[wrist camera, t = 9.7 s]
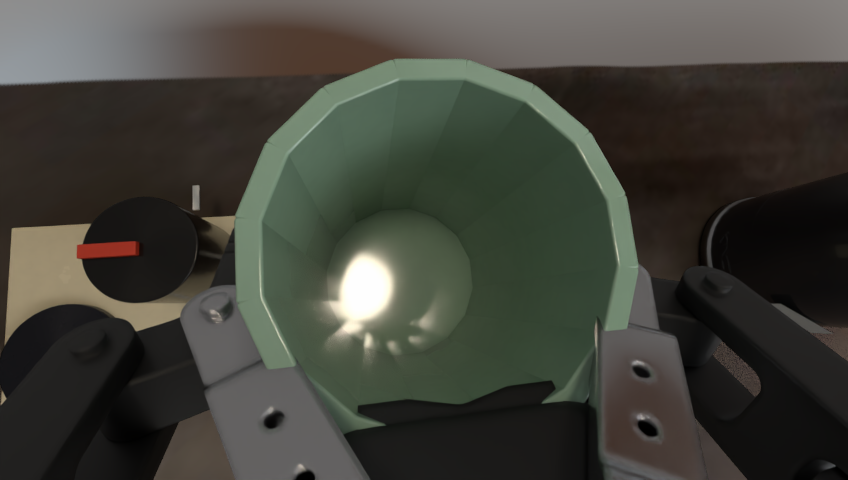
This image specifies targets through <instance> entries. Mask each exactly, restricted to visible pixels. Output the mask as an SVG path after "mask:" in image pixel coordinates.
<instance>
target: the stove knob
mask: <svg viewBox="0 0 848 480" xmlns="http://www.w3.org/2000/svg"><path fill="white" fill-rule="evenodd" d="M229 238H230V235H229V234H228V233H227V232H226V231H224V230H223V229H221V228H220V227H218V226H216V225H214V224H212V223H210V222H208V221H206V220H204V219H202V218H200V217H198V216H196V215H195V214H193V213H191V212H189V211H187V210H185V209H183V208H181V207H179V206H177V205H175V204H173V203H171V202H169V201H166V200H163V199H160V198H154V197H137V198H131V199H127V200H124V201H121V202H119V203H117V204H114V205H112V206H111V207H109V208H108V209H106V210H105V211H104V212H102V213H101V214H100V215H99V216H98V217H97V218H96V219H95V220H94V222H93V223H92V224H91V225H90V227H89V229H88V231H87V233H86V235H85V238H84V241H83V244H79V245H77V259H82V264H83V268H84V271H85V273H86V275H87V277H88V279H89V280H90V282H91V283H92V284H93V285H94V286H95V287H96V288H97V289H98V290H99V291H100V292H101V293H103V294H104V295H106V296H108V297H110V298H112V299H115V300H117V301H121V302H125V303H187V302H188V301H189V300H190V299H192V298H193V297H194V296H196V295H197V294H199V293H201V292H202V291H205V290H207V289H209V288H210V286H211V283H212V281H213V278H214V276H215V273H216V271H217V268H218V265H219V263H220V260H221V258H222V255H223V254H224V250H225V248H226V245H227V244H228V240H229Z"/></svg>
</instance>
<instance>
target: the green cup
mask: <svg viewBox="0 0 848 480" xmlns="http://www.w3.org/2000/svg"><path fill="white" fill-rule="evenodd" d="M588 132H589V131H588V129H587V128H585V127H584V126H583V125H582V124H581V123H580V122H578V121H577V120H576V119H575V118H574V117H573V116H571V115H570V114H569V113H568V112H567V111H565V110H564V109H563V108H562V107H561V106H560V105H558V104H557V103H556V102H555V101H554V100H553V99H551V98H550V97H549V96H548V95H547V94H545V93H544V92H543V91H542V90H541V89H540V88H538V87H537V86H534V85H533V84H532V83H530V82H527V81H525V80H522V79H519V78H517V77H514V76H511V75H509V74H506V73H503V72H501V71H498V70H495V69H493V68H490V67H487V66H485V65H482V64H479V63H477V62H474V61H471V60H465V59H394V60H389V61H386V62H384V63H381V64H378V65H376V66H374V67H371V68H368V69H366V70H363V71H361V72H358V73H356V74H353V75H351V76H348V77H346V78H343V79H341V80H338V81H335V82H333V83H330V84H328V85H325V86H324V87H323V88H321V89H320V90H319V91H317V92H316V93H315V94H314V95H313V96H312V97H311V98H310V99H309V100H308V101H307V102H306V103H305V104H304V105H303V106H302V107H301V108H300V109H299V110H298V111H297V112H296V113H295V114H294V115H293V116H292V117H291V118H290V119H289V120H288V121H287V122H285V123H284V124H283V125H282V126H281V127H280V128H279V129H278V130H277V131H276V132H275V133H274V134H273V135H272V136H271V137H270V138H269V139H268V141H267V143H265V145H264V147H263V149H262V152H261V154H260V157H259V159H258V161H257V164H256V166H255V169H254V171H253V173H252V176H251V178H250V181H249V183H248V186H247V188H246V190H245V193H244V195H243V198H242V200H241V202H240V205H239V207H238V210H237V212H236V214H235V217H236V219H235V220H234V238H235V284H236V302H237V303H238V304H237V308H238V310H239V312H240V314H241V316H242V318H243V320H244V322H245V324H246V327H247V329H248V331H249V333H250V335H251V337H252V339H253V341H254V343H255V346H256V348H257V350H258V352H259V354H260V356H261V358H262V360H263V362H264V365H265V367H266V368H267V369H277V368H286V367H294V366H296V363H297V362H296V359H297V360H298V362H299V363H300V365H301V367H302V368H303V370H304V372H305V373H306V375H307V377H308V378H309V380H310V381H311V383H312V385H313V386H314V388H315V390H316V391H317V393H318V395H319V396H320V398H321V399H322V401H323V403H324V404H325V406H326V408H327V409H328V411H329V412H330V414H331V416H332V417H333V419H334V421H335V422H336V424H337V426H338V427H339V429H340V430H341V432H342V434H346V433H348V432H351V431H354V430H357V429H358V430H361V429H367V428H372V427H379V426H386V425H385V424H384V423H382V422H379V421H377V420H374V419H372V418H369V417H367V416H364V415H362V414H359V413H358V405H366V404H373V403H381V402H389V401H396V400H404V399H413V400H422V401H431V402H441V403H450V404H464V403H467V402H470V401H472V400H474V399H477V398H479V397H482V396H484V395H486V394H489V393H491V392H494V391H496V390H499V389H501V388H503V387H506V386H511V385H519V384H527V383H534V382H542V381H550V380H552V382H553V384H554V386H555V388H556V389H555V390H554V391H553V392H552V393H551V394H550V395H549V396H548V397H547V398H546V399H545V400H544V401H543V402H542V404H544V403H552V402H563V401H573V402H574V401H575V402H581V403H585V402H586V400H587V399H588V397H589V376H590V370H591V365H592V360H593V354H594V348H595V335H594V328H595V322H596V316H598V318H599V319H600V321H601V324H602V327H603V329H604V330H605V331H612V330H621V329H627V326H628V321H629V316H630V311H631V306H632V301H633V296H634V291H635V286H636V281H637V276H638V269H637V268H638V266H639V265H638V260H637V254H636V248H635V242H634V236H633V230H632V224H631V219H630V213H629V207H628V201H627V197H626V196H624V195H625V192H624V190H623V188H622V186H621V185H620V183H619V181H618V179H617V178H616V176H615V174H614V172H613V171H612V169H611V167H610V165H609V164H608V162H607V160H606V158H605V157H604V155H603V153H602V151H601V150H600V148H599V146H598V144H597V143H596V141H595V139H594V137H593V136H592V134H591V133H588ZM295 357H296V358H295Z"/></svg>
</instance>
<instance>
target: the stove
mask: <svg viewBox="0 0 848 480" xmlns="http://www.w3.org/2000/svg"><path fill="white" fill-rule="evenodd" d="M193 210H194V211H197V210H201V207H200V186H199V185H196V186H193ZM202 219H204V220H206V221H208V222H210V223H212V224H214V225H216V226H218V227H220V228H221V229H223V230H224V231H226V232H227V233H228V234H229V235H231V232H232V230H233V228H234V220H235V219H236V217H235V216H224V217H206V218H202ZM90 225H91V224H78V225H59V226H41V227H23V228H12V235H11V251H10V267H9V283H8V299H7V315H6V331H5V344H6V342H7V341H8V339H9V337H10V336H11V335H12V333H13V332H14V331H15V330H16V329H17V328H18V327H19V326H20V325H21V324H22V323H23V322H24V321H26V320H27V319H28V318H30V317H31V316H33V315H34V314H36V313H38V312H40V311H42V310H45V309H47V308H50V307H54V306H57V305H64V304H86V305H91V306H95V307H98V308H101V309H103V310H105V311H107V312H109V313H110V314H111V315H113V316H114V317H115V318H121V319H124V320H127V321H128V322H130V323H131V324H132V326H133V327H134V329H135V331H139V330H143V329H146V328H149V327H152V326H156V325H159V324H162V323H165V322H168V321H171V320H174V319H177V318H179V317H180V314H181V311H182V309H183V307H184V306H185V305H186V303H125V302H121V301H117V300H115V299H112V298H110V297H108V296H106V295H104V294H103V293H101V292H100V291H99V290H98V289H97V288H96V287H95V286H94V285H93V284H92V283H91V282H90V280H89V279H88V277H87V275H86V273H85V271H84V268H83V264H82V259H77V245H79V244H83V241H84V238H85V235H86V233H87V231H88V229H89V227H90ZM6 399H7V398H6V397H5V395H4V393H3V391H2V395H1V405H2V403H3V402H4V401H5V400H6Z"/></svg>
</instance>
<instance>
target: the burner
mask: <svg viewBox="0 0 848 480" xmlns="http://www.w3.org/2000/svg"><path fill="white" fill-rule="evenodd" d="M104 318H115V317H114V316H113V315H111V314H110V313H109V312H107V311H105V310H103V309H101V308H98V307H95V306H91V305H86V304H64V305H57V306H54V307H50V308H47V309H45V310H42V311H40V312H38V313H36V314H34V315H33V316H31V317H30V318H28V319H27V320H26V321H24V322H23V323H22V324H21V325H20V326H19V327H18V328H17V329H16V330H15V331H14V332H13V333H12V335H11V336H10V337H9V339H8V341H7V342H6V344H5V346H4V349H3V351H2V354H1V357H0V385H1V388H2V391H3V393H4V395H5V397H6V398H8V396H9V395H10V394H11V393H12V392H13V391H14V389H15V388H16V387H17V386H18V385H19V384H20V382H21V381H22V380H23V379H24V378H25V377H26V375H27V374H28V373H29V372H30V371H31V370H32V368H33V367H34V366H35V365H36V364H37V362H38V361H39V360H40V359H41V358H42V357H43V355H44V354H45V353H46V352H47V351H48V350H49V348H50V347H51V346H52V345H53V344H54V343H55V342H56V341H57V340H58V339H60V338H61V337H62V336H63V335H65V334H66V333H68V332H69V331H71V330H73V329H75V328H77V327H79V326H81V325H83V324H86V323H88V322H91V321H95V320H98V319H104Z"/></svg>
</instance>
